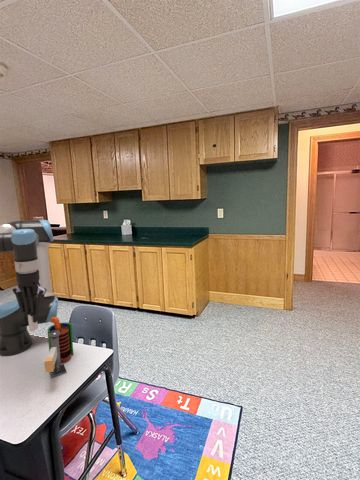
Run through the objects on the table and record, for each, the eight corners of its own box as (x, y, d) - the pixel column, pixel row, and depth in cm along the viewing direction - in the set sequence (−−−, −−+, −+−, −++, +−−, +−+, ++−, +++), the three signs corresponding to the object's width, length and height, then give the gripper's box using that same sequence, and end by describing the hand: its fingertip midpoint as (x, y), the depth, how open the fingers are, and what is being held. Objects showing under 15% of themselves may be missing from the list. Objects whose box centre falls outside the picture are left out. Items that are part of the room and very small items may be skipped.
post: (48, 370, 113) (45, 331, 111) (63, 365, 117) (60, 327, 114) (51, 378, 109) (47, 337, 106) (66, 372, 112) (63, 333, 109)
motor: (62, 367, 116) (59, 324, 113) (45, 364, 118) (40, 322, 114) (76, 353, 126) (73, 314, 123) (59, 351, 127) (56, 313, 124)
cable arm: (58, 356, 109) (57, 345, 108) (53, 371, 99) (52, 360, 99) (51, 357, 109) (50, 346, 108) (45, 372, 99) (44, 361, 98)
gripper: (4, 272, 95) (11, 332, 99) (35, 274, 93) (42, 336, 97) (20, 267, 102) (26, 323, 106) (49, 268, 100) (55, 326, 104)
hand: (33, 329), depth 101 cm, fingers closed
